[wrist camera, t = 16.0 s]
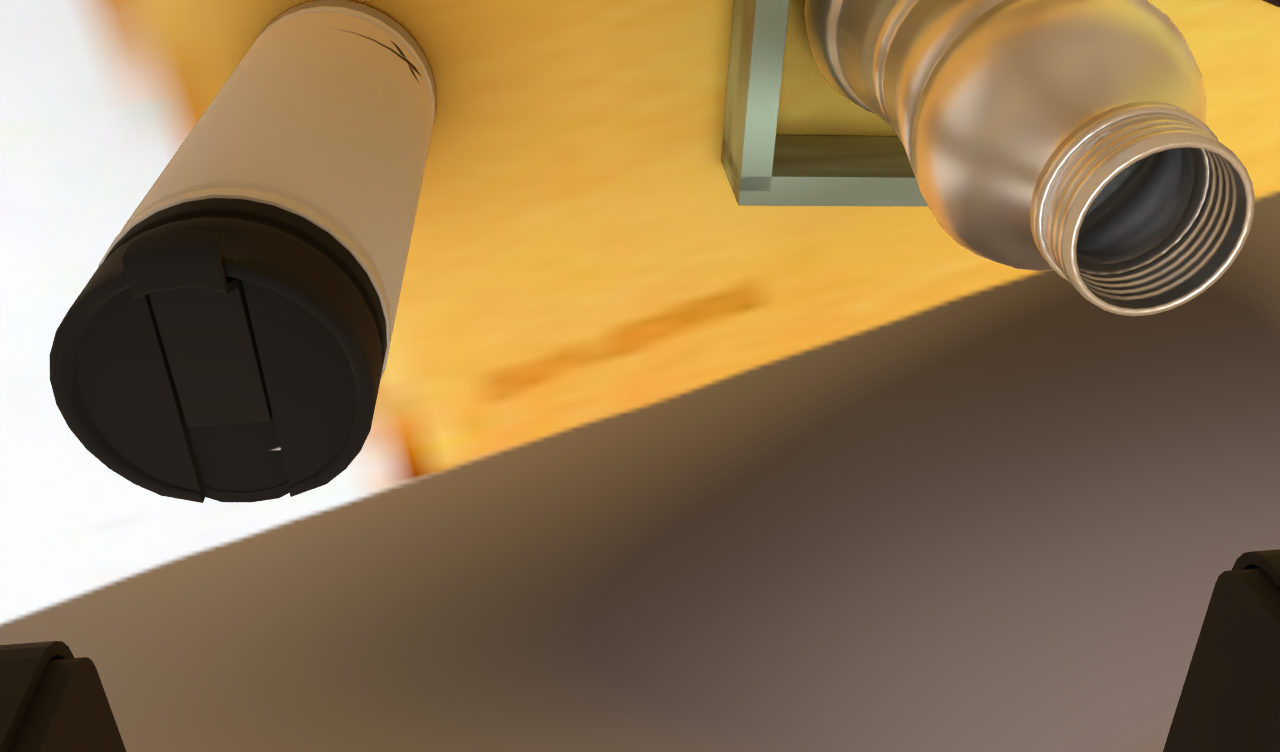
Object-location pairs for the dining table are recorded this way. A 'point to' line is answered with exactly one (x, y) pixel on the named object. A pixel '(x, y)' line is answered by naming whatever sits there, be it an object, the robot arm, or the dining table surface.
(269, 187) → the travel mug
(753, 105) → the dock
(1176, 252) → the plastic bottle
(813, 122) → the dining table surface
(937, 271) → the dining table surface
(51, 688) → the robot arm
